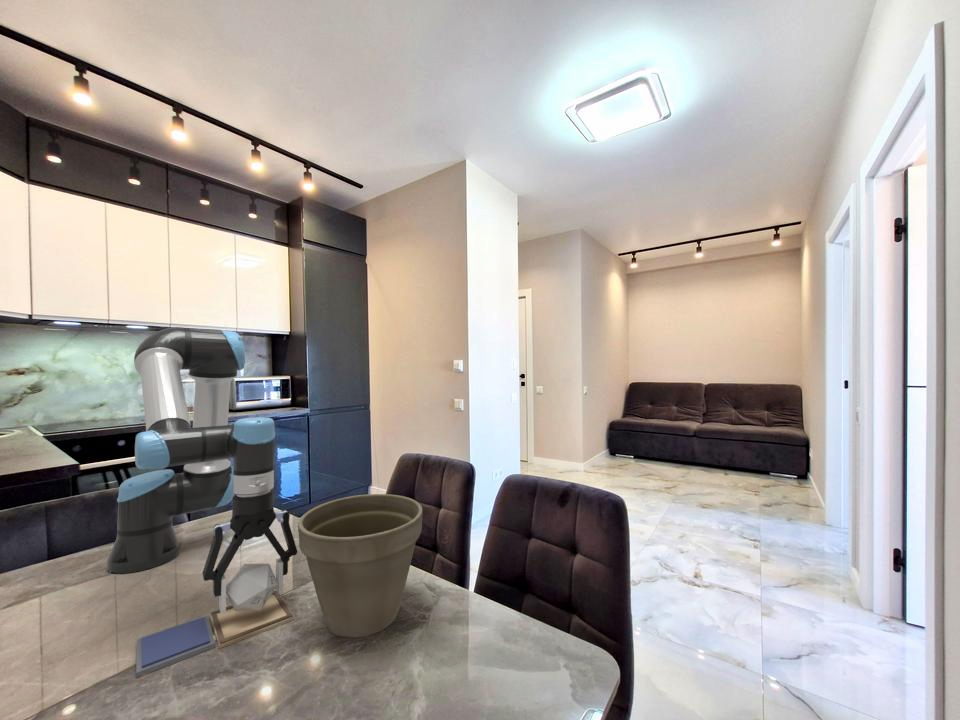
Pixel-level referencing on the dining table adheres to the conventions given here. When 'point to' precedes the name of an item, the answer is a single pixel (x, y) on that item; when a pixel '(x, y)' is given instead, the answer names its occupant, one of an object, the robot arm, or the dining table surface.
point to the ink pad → (173, 645)
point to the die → (251, 587)
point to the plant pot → (360, 558)
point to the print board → (249, 620)
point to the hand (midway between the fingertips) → (251, 600)
